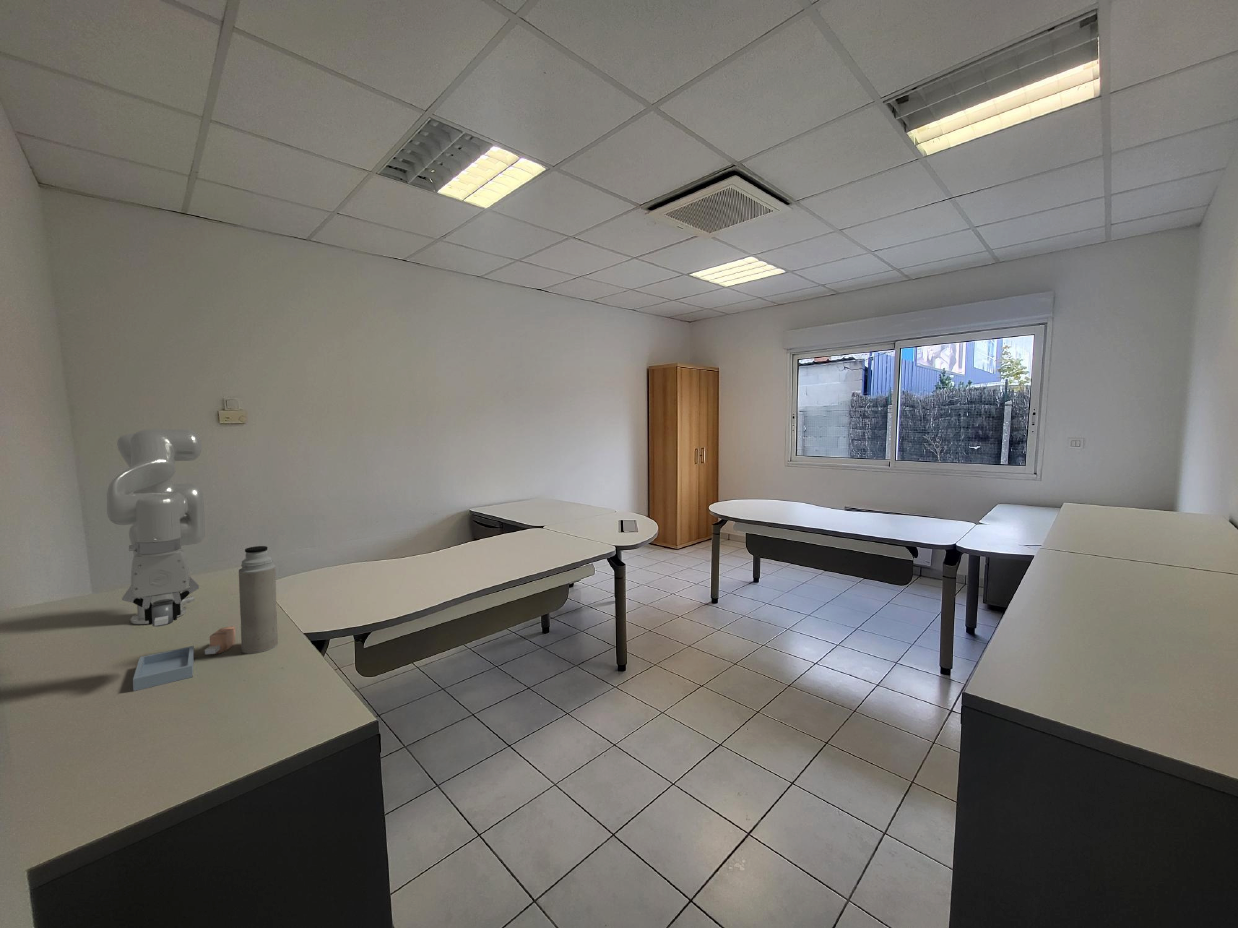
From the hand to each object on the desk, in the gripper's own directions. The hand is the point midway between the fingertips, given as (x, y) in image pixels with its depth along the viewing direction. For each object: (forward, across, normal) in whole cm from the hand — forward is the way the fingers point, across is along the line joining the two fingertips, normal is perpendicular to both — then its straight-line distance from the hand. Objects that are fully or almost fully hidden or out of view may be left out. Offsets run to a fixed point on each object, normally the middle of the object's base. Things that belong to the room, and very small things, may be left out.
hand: (163, 619), depth 116 cm
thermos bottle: (+13, +19, +3) cm, 23 cm away
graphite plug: (0, 0, -1) cm, 1 cm away
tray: (+13, 0, 0) cm, 13 cm away
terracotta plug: (+13, +10, +8) cm, 18 cm away
